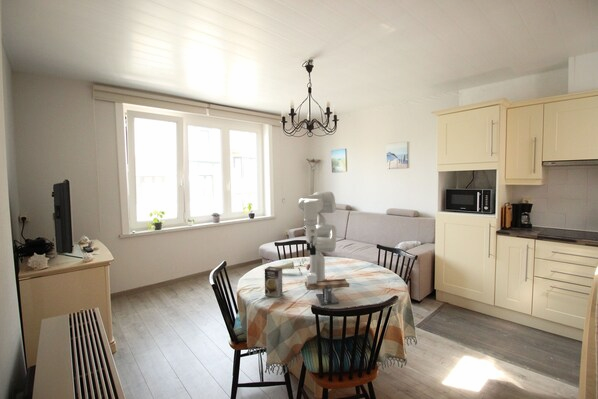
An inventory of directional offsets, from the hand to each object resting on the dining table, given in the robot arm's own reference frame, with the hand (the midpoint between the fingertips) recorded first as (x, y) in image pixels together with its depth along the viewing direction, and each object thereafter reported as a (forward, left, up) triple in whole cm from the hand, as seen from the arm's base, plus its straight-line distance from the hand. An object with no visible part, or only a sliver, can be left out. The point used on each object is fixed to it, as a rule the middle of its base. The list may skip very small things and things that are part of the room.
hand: (311, 252), depth 160 cm
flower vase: (-35, +33, -28) cm, 56 cm away
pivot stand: (+7, +6, -28) cm, 29 cm away
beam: (+7, +6, -20) cm, 22 cm away
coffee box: (-24, -3, -28) cm, 37 cm away
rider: (0, 0, -18) cm, 18 cm away
